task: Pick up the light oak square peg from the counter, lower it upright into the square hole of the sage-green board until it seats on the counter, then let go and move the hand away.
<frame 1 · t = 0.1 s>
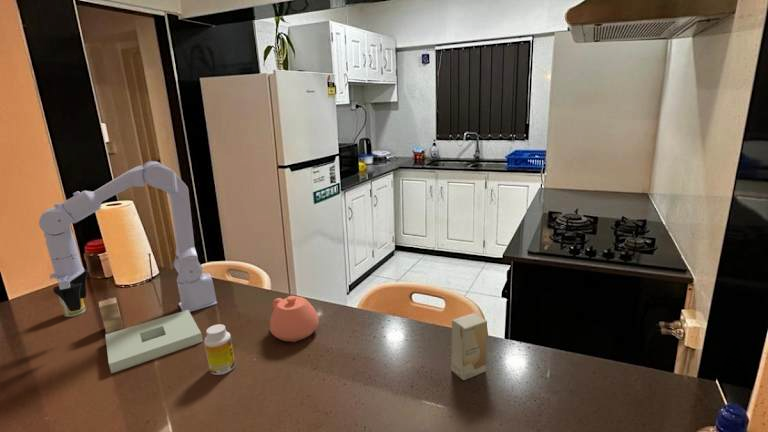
hand: (78, 303, 109), 10 cm above the kitchen counter, tool pointing down, fingers open, 7 cm apart
supplement bottle 2: (223, 369, 95), on the kitchen counter
socket board: (154, 342, 107), on the kitchen counter
oak peg: (114, 328, 115), on the kitchen counter
skincare box: (468, 371, 90), on the kitchen counter
supplement bottle: (75, 313, 126), on the kitchen counter
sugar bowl: (293, 332, 109), on the kitchen counter
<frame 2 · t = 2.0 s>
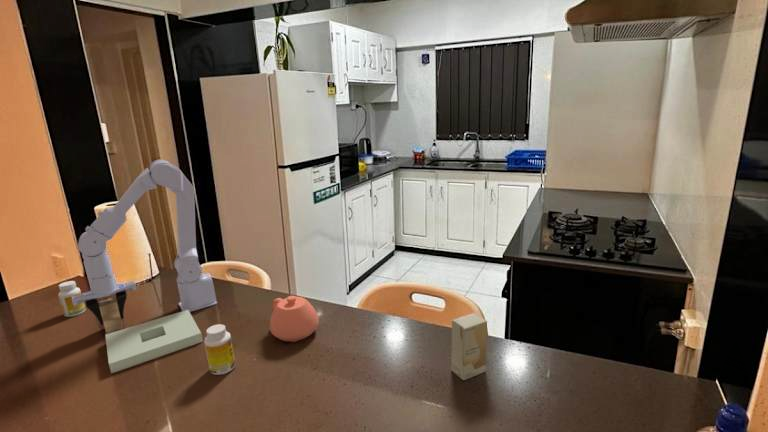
hand: (112, 320, 115), 2 cm above the kitchen counter, tool pointing down, fingers closed on oak peg, 4 cm apart
oak peg: (114, 328, 115), on the kitchen counter, touching gripper
everything else where it was.
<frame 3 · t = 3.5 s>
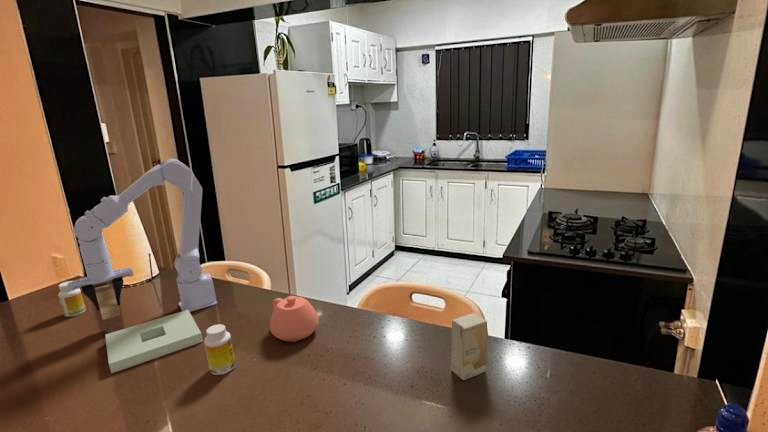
hand: (109, 306, 114), 7 cm above the kitchen counter, tool pointing down, fingers closed on oak peg, 4 cm apart
oak peg: (111, 314, 114), point 4 cm above the kitchen counter, touching gripper
everything else where it was.
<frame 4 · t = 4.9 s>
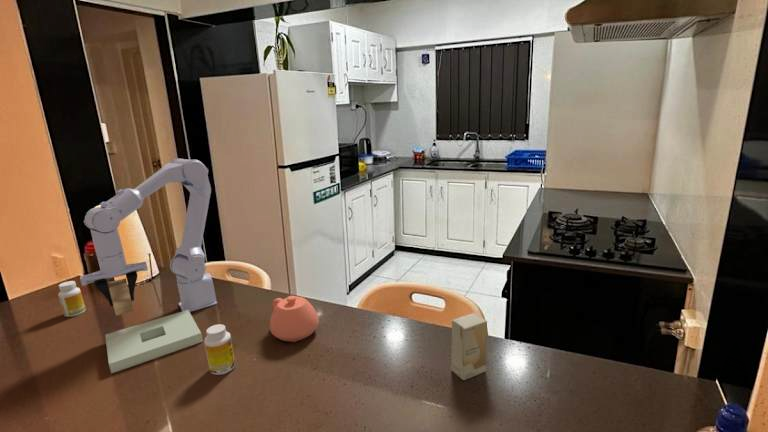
hand: (122, 302, 109), 9 cm above the kitchen counter, tool pointing down, fingers closed on oak peg, 4 cm apart
oak peg: (124, 310, 110), point 7 cm above the kitchen counter, touching gripper
everything else where it was.
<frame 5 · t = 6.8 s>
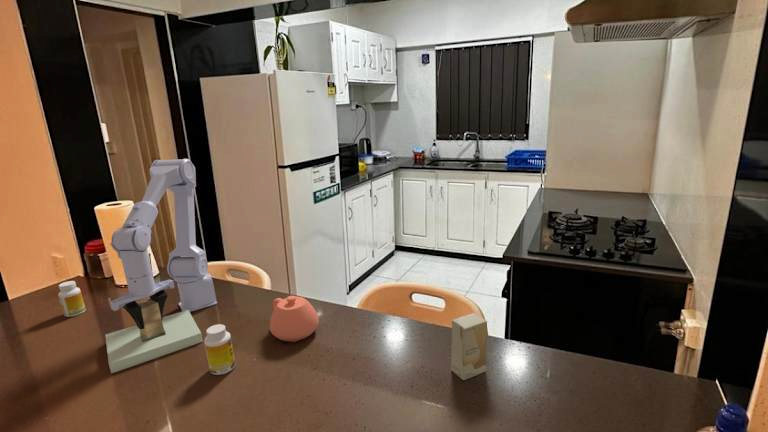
hand: (150, 323, 106), 5 cm above the kitchen counter, tool pointing down, fingers closed on oak peg, 4 cm apart
oak peg: (152, 332, 106), point 3 cm above the kitchen counter, touching gripper
everything else where it was.
when the fingers open (4 cm above the kitchen counter, at t = 8.0 s): oak peg drops 2 cm, resting in socket board.
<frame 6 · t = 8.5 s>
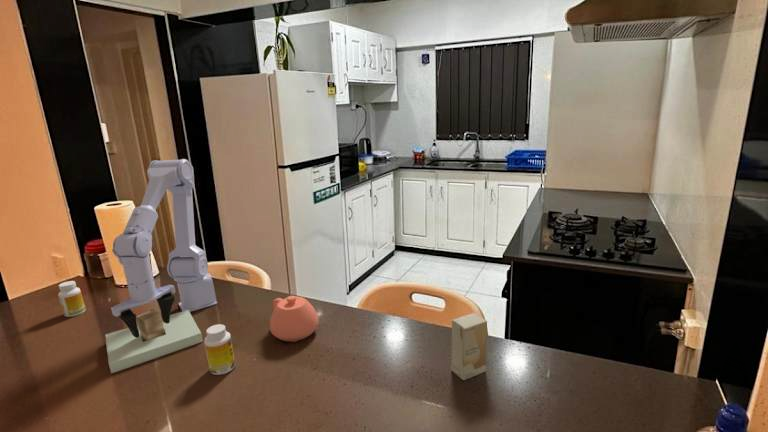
hand: (151, 328, 106), 4 cm above the kitchen counter, tool pointing down, fingers open, 7 cm apart
oak peg: (154, 342, 107), resting in socket board
everything else where it was.
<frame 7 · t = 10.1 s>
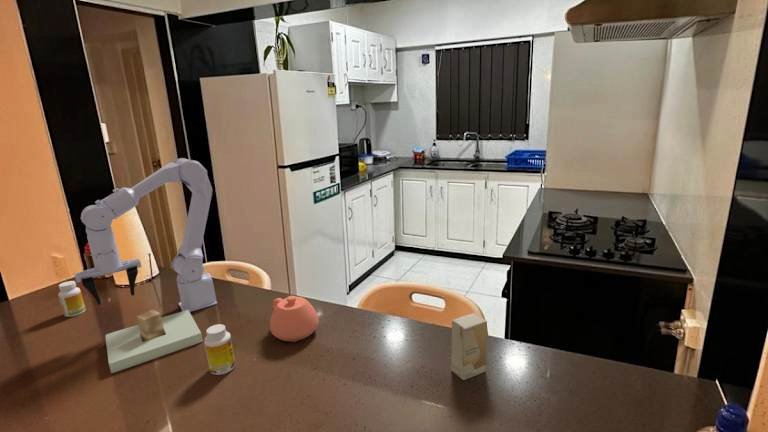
hand: (116, 298, 112), 9 cm above the kitchen counter, tool pointing down, fingers open, 7 cm apart
nothing on the kitchen counter moved.
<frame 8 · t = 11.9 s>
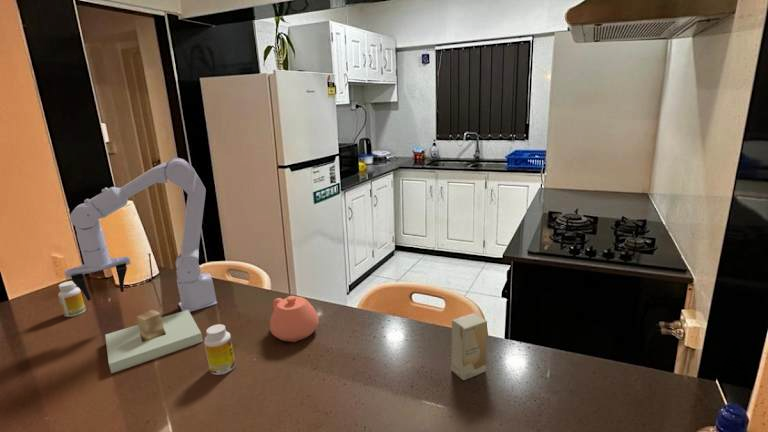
hand: (106, 294, 114), 9 cm above the kitchen counter, tool pointing down, fingers open, 7 cm apart
nothing on the kitchen counter moved.
at the end: oak peg 0.0 cm off-centre on the socket board, point 0.0 cm above the socket board's base; oak peg tilted 0°; the gripper is holding nothing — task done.
